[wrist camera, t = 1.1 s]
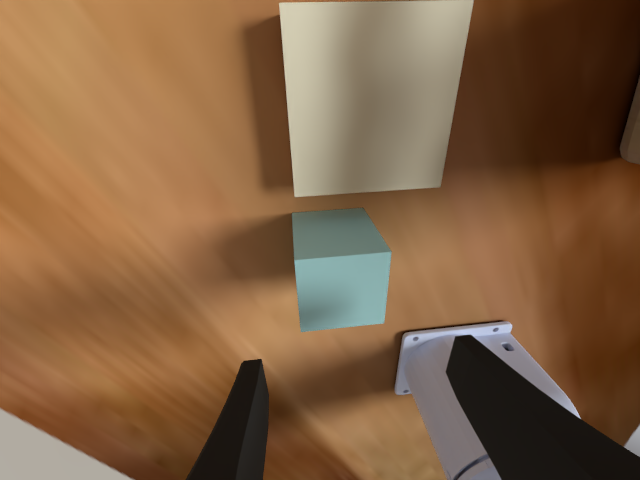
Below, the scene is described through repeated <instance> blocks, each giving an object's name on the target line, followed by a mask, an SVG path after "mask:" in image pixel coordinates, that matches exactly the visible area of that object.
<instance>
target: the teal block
mask: <svg viewBox="0 0 640 480" xmlns="http://www.w3.org/2000/svg"><path fill="white" fill-rule="evenodd" d="M292 226H293V245H294V263H295V274H296V284H297V295H298V306H299V317H300V328H301V332H306V331H315V330H325V329H334V328H344V327H353V326H362V325H372V324H381V323H384V319H385V310H386V300H387V290H388V281H389V271H390V261H391V250H390V249H389V247H388V246H387V244H386V243H385V241H384V239H383V238H382V236H381V235H380V233H379V232H378V230H377V229H376V227H375V225H374V224H373V222H372V221H371V219H370V218H369V216H368V214H367V213H366V211H365V210H364V208H352V209H338V210H324V211H311V212H297V213H292Z"/></svg>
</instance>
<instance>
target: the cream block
mask: <svg viewBox="0 0 640 480" xmlns="http://www.w3.org/2000/svg"><path fill="white" fill-rule="evenodd" d="M473 2H474V0H439V1H369V2H299V3H279V8H280V21H281V34H282V46H283V59H284V71H285V83H286V96H287V108H288V121H289V133H290V146H291V158H292V171H293V183H294V195H295V197H304V196H319V195H333V194H348V193H362V192H377V191H391V190H406V189H421V188H435V187H441V181H442V175H443V170H444V164H445V159H446V153H447V147H448V142H449V136H450V131H451V125H452V119H453V114H454V108H455V103H456V97H457V91H458V86H459V80H460V75H461V69H462V63H463V58H464V52H465V47H466V41H467V35H468V30H469V24H470V19H471V13H472V7H473Z"/></svg>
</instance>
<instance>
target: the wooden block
mask: <svg viewBox="0 0 640 480" xmlns="http://www.w3.org/2000/svg"><path fill="white" fill-rule="evenodd" d="M620 152H621V157H622V158H623V159H625V160H626V161H628V162H632V163H636V164H640V77H639V81H638V84H637V88H636V91H635V95H634V98H633V102H632V106H631V109H630V113H629V116H628V120H627V124H626V127H625V131H624V134H623V138H622V142H621V145H620Z"/></svg>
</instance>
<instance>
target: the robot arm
mask: <svg viewBox="0 0 640 480" xmlns="http://www.w3.org/2000/svg"><path fill="white" fill-rule="evenodd" d="M511 329H512V325H511V324H510V323H509V322H507V321H505V322H496V323H486V324H477V325H468V326H459V327H450V328H441V329H432V330H423V331H414V332H407V333H405V334H404V335H403V337H402V343H401V350H400V356H399V363H398V369H397V376H396V383H395V393H396V394H397V395H404V394H412V395H413V397H414V400H415V402H416V405H417V407H418V410H419V412H420V414H421V417H422V419H423V422H424V424H425V427H426V429H427V431H428V434H429V436H430V439H431V441H432V444H433V446H434V448H435V451H436V453H437V456H438V458H439V460H440V463H441V465H442V468H443V470H444V473H445V475H446V477H447V480H640V457H639V456H637V455H635V454H634V453H632V452H630V451H629V450H627V449H626V448H624V447H622V446H621V445H619V444H618V443H616V442H615V441H613V440H612V439H610V438H609V437H607V436H605V435H604V434H602V433H601V432H599V431H598V430H596V429H595V428H593V427H592V426H590V425H589V424H587V423H586V422H584V421H583V420H581V418H580V416H579V414H578V412H577V410H576V409H575V407H574V405H573V404H572V402H571V401H570V400H569V398H568V397H567V395H566V394H565V393H564V392H563V391H562V390H561V388H560V387H559V386H558V385H557V384H556V383H555V382H554V381H553V380H552V379H551V377H550V376H549V375H548V374H547V373H546V372H545V371H544V370H543V369H542V368H541V366H540V365H539V364H538V363H537V362H536V361H535V360H534V359H533V358H532V357H531V356H530V354H529V353H528V352H527V351H526V350H525V349H524V348H523V347H522V346H521V345H520V343H519V342H518V341H517V340H516V339H515V338H514V337H513V336H512V335H511V334H510V332H511ZM268 415H269V393H268V388H267V384H266V379H265V374H264V369H263V364H262V359H257V360H248V361H244V362H243V363H241V366H240V369H239V372H238V374H237V377H236V380H235V382H234V385H233V387H232V389H231V392H230V394H229V396H228V399H227V401H226V403H225V405H224V407H223V409H222V412H221V414H220V416H219V418H218V420H217V422H216V424H215V426H214V428H213V430H212V432H211V434H210V436H209V438H208V440H207V442H206V444H205V446H204V447H203V449H202V451H201V453H200V455H199V457H198V459H197V461H196V462H195V464H194V466H193V468H192V470H191V471H190V473H189V475H188V477H187V478H186V480H263V472H264V462H265V453H266V443H267V434H268Z"/></svg>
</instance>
